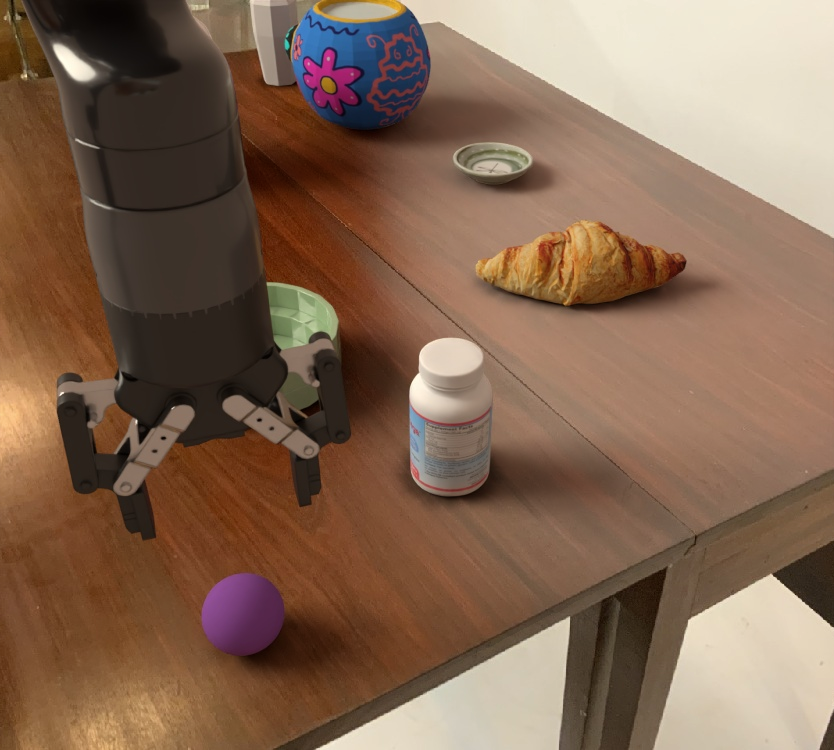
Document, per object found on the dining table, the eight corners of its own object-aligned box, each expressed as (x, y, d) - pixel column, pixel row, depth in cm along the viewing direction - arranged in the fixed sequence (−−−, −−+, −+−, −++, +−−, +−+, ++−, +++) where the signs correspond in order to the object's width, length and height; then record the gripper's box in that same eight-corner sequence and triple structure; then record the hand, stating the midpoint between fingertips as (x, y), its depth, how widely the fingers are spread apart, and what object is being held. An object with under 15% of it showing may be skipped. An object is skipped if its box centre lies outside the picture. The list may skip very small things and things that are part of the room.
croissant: (477, 329, 97) (481, 289, 90) (470, 244, 101) (473, 199, 94) (684, 321, 99) (704, 280, 92) (669, 237, 103) (687, 193, 96)
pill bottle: (419, 443, 78) (417, 326, 71) (494, 452, 77) (500, 336, 71) (402, 495, 73) (399, 375, 66) (482, 505, 73) (487, 385, 66)
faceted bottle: (304, 72, 143) (292, -90, 130) (300, 88, 138) (286, -79, 125) (261, 71, 143) (243, -91, 130) (255, 87, 138) (236, -81, 125)
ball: (212, 681, 59) (200, 629, 56) (203, 619, 63) (191, 567, 60) (294, 660, 61) (287, 608, 58) (280, 600, 65) (273, 548, 62)
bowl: (181, 441, 77) (171, 391, 74) (166, 342, 87) (156, 295, 84) (357, 408, 81) (355, 359, 78) (322, 318, 92) (319, 272, 89)
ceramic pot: (372, 87, 139) (367, -22, 130) (457, 125, 130) (459, 10, 121) (270, 118, 129) (258, 2, 120) (355, 161, 120) (348, 38, 111)
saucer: (534, 162, 122) (536, 144, 120) (529, 196, 114) (530, 177, 112) (458, 156, 122) (458, 137, 121) (447, 190, 114) (447, 171, 113)
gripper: (12, 333, 40) (96, 592, 50) (349, 281, 45) (366, 530, 54) (18, 247, 46) (92, 495, 56) (317, 208, 50) (338, 446, 60)
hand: (227, 512), depth 55 cm, fingers open, 8 cm apart
